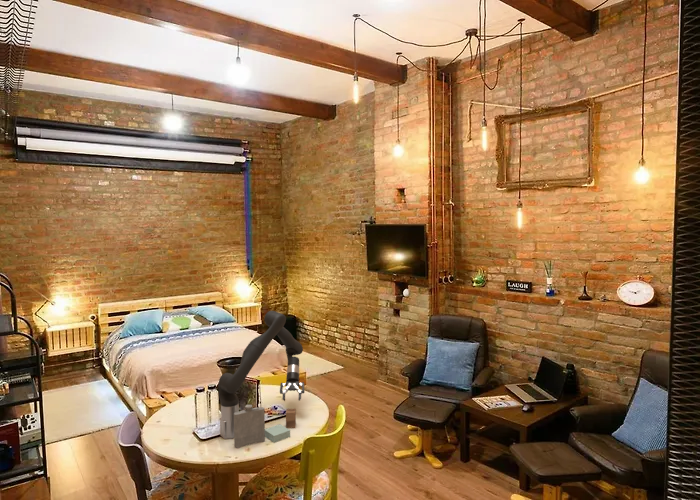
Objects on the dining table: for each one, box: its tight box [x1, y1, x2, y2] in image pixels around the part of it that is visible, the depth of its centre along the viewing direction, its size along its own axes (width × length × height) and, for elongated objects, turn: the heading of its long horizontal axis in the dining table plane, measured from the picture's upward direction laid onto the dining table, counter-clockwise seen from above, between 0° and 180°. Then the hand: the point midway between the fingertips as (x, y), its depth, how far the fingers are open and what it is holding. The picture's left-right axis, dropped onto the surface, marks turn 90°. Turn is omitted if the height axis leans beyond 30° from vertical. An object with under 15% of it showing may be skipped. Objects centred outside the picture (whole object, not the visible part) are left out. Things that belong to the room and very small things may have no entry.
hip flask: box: [233, 404, 266, 449], centre depth 239 cm, size 16×4×20 cm, turn 119°
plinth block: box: [265, 423, 291, 444], centre depth 247 cm, size 10×10×4 cm
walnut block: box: [285, 408, 297, 429], centre depth 259 cm, size 5×5×9 cm
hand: (291, 400), depth 266 cm, fingers open, 8 cm apart
